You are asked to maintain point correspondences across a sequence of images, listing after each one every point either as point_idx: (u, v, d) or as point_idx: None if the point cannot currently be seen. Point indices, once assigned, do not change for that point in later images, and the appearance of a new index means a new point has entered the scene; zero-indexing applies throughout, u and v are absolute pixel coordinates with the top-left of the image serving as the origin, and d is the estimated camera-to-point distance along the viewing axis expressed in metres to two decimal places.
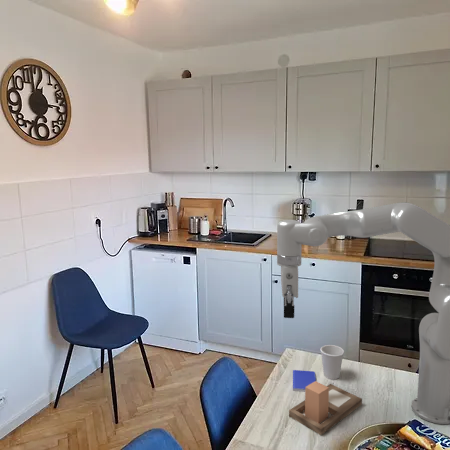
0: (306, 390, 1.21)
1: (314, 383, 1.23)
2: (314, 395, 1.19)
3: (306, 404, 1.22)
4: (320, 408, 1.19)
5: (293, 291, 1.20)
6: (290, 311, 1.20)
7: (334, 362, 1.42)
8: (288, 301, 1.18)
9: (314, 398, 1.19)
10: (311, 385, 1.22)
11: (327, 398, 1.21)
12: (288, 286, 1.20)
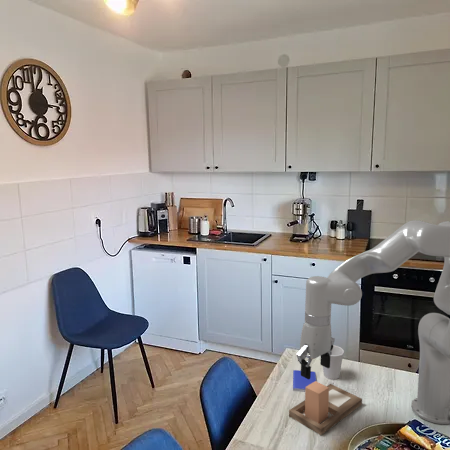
0: (306, 390, 1.21)
1: (314, 383, 1.23)
2: (313, 395, 1.19)
3: (306, 404, 1.22)
4: (320, 408, 1.19)
5: None
6: None
7: (334, 362, 1.42)
8: None
9: (314, 398, 1.19)
10: (311, 385, 1.22)
11: (327, 398, 1.21)
12: None
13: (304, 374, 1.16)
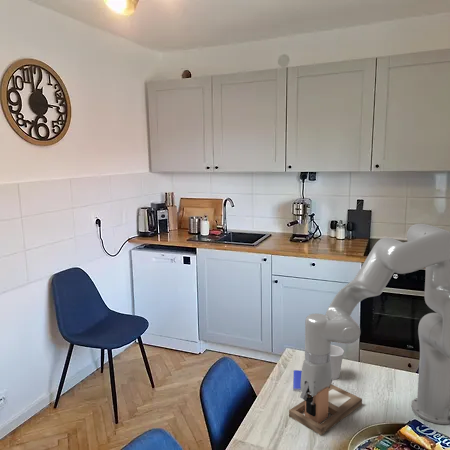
0: None
1: None
2: None
3: None
4: (320, 408, 1.19)
5: None
6: None
7: (334, 362, 1.42)
8: None
9: None
10: None
11: (327, 398, 1.21)
12: None
13: (309, 411, 1.19)
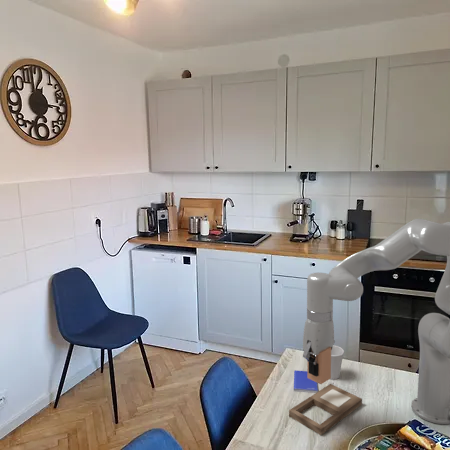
0: None
1: None
2: None
3: (308, 365, 1.20)
4: (323, 367, 1.18)
5: None
6: None
7: (334, 362, 1.42)
8: None
9: None
10: None
11: (329, 358, 1.19)
12: None
13: (312, 371, 1.18)
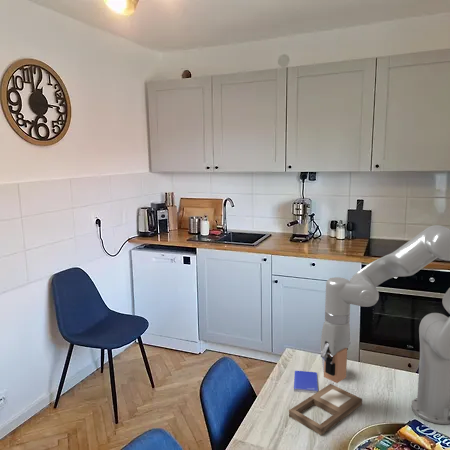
0: None
1: None
2: None
3: None
4: (339, 367, 1.24)
5: None
6: None
7: None
8: None
9: None
10: None
11: (345, 359, 1.26)
12: None
13: (329, 371, 1.24)
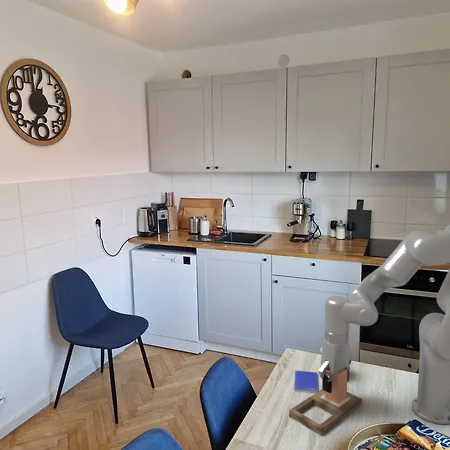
0: None
1: None
2: (333, 376, 1.25)
3: None
4: (340, 388, 1.25)
5: None
6: None
7: None
8: None
9: (333, 379, 1.25)
10: None
11: (346, 379, 1.27)
12: None
13: (326, 388, 1.24)
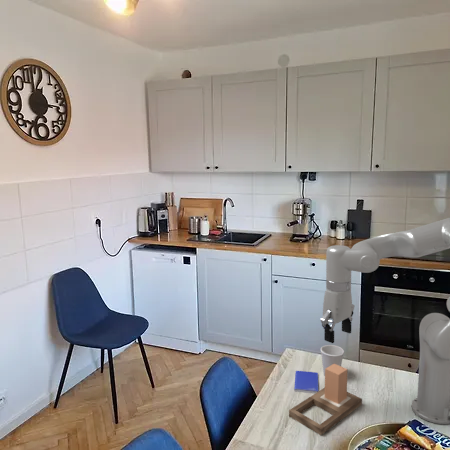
0: (326, 371, 1.27)
1: (333, 365, 1.29)
2: (333, 376, 1.25)
3: (326, 385, 1.28)
4: (340, 388, 1.25)
5: None
6: None
7: (334, 362, 1.42)
8: None
9: (333, 379, 1.25)
10: (331, 367, 1.28)
11: (346, 379, 1.27)
12: None
13: (328, 338, 1.22)
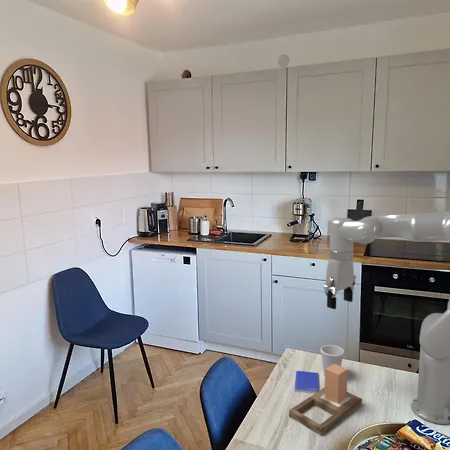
0: (326, 371, 1.27)
1: (333, 365, 1.29)
2: (333, 376, 1.25)
3: (326, 385, 1.28)
4: (340, 388, 1.25)
5: None
6: None
7: (334, 362, 1.42)
8: None
9: (333, 379, 1.25)
10: (331, 367, 1.28)
11: (346, 379, 1.27)
12: None
13: (330, 305, 1.30)
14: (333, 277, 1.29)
